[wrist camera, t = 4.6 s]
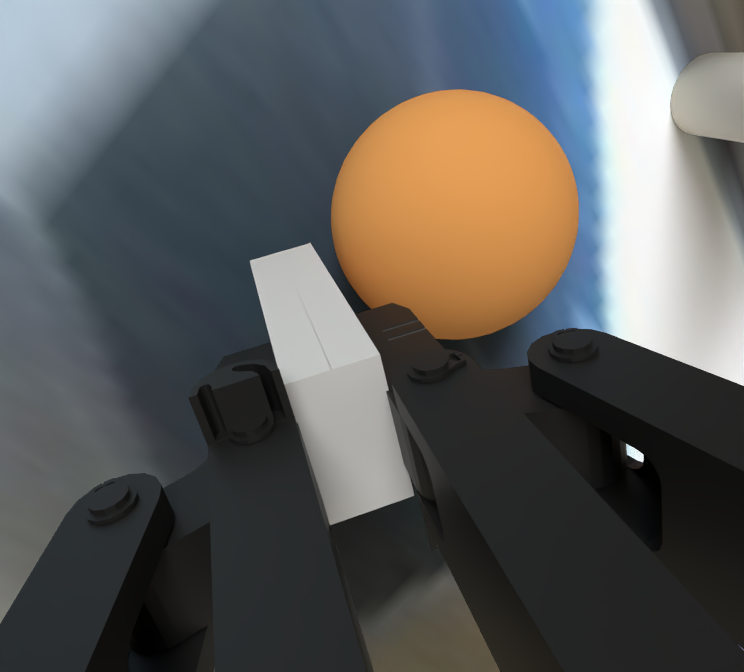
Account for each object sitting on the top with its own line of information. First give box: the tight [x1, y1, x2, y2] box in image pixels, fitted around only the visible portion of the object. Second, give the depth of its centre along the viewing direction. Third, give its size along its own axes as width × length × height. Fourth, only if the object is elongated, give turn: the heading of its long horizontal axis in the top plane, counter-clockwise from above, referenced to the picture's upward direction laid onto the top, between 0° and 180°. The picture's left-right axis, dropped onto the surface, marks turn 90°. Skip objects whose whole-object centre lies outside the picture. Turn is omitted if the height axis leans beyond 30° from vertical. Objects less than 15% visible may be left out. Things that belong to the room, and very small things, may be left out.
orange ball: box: [331, 89, 579, 340], centre depth 16 cm, size 6×6×6 cm
